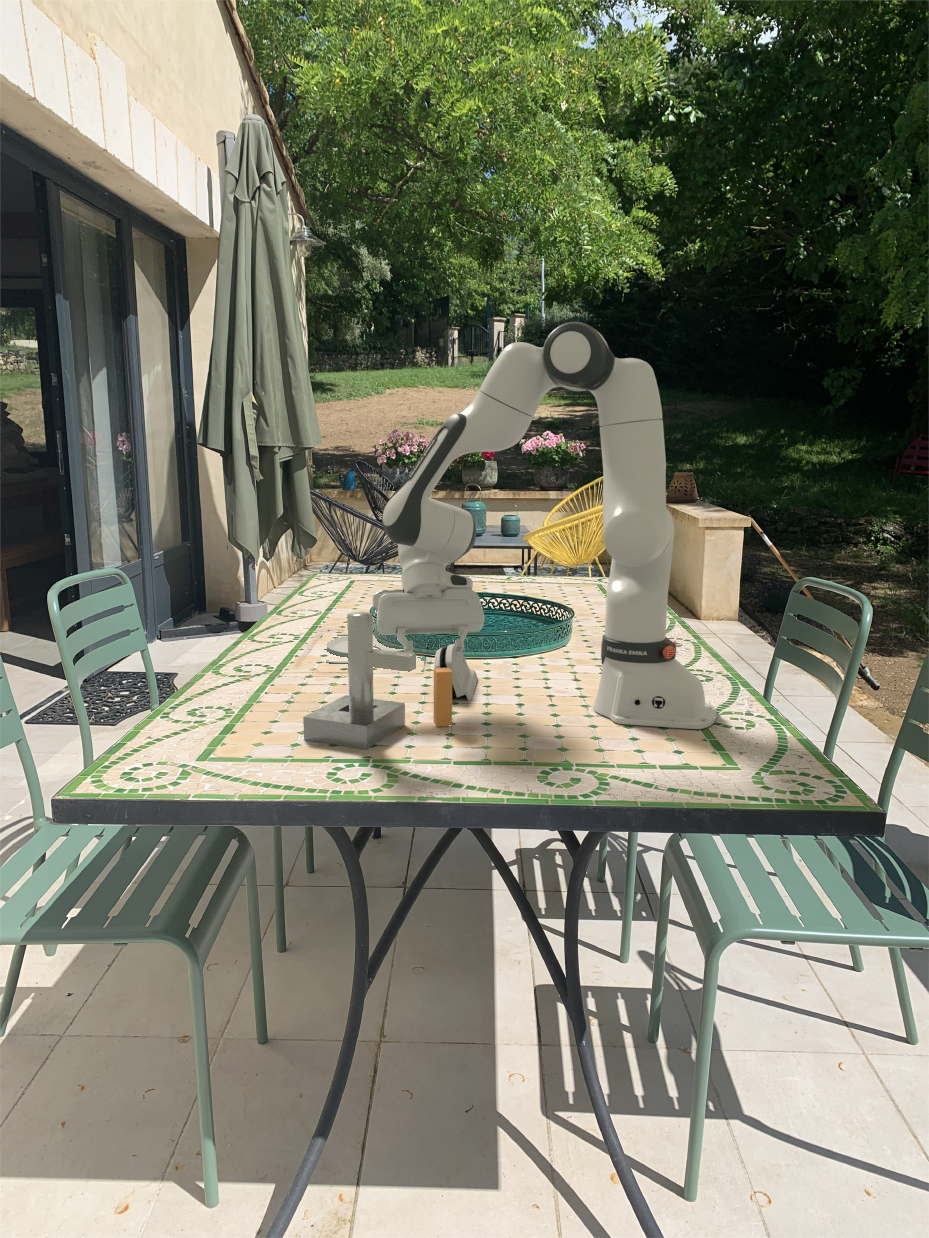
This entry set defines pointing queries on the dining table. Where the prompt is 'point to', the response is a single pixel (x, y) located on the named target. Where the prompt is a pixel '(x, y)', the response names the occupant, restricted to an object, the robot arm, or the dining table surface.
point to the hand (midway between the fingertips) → (434, 650)
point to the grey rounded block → (457, 671)
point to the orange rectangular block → (442, 696)
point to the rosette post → (360, 694)
